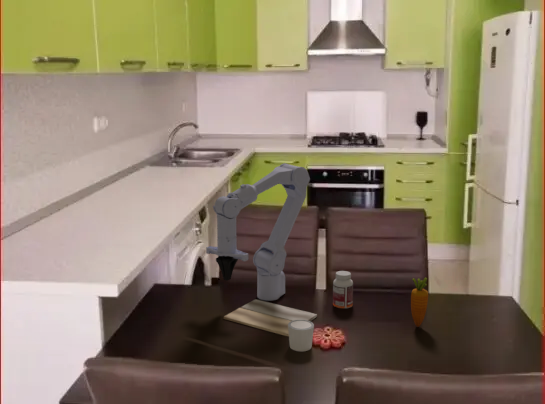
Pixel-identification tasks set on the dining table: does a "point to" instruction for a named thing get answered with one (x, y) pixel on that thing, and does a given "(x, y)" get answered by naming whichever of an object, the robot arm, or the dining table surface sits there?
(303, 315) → the laid plank
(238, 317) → the oak plank
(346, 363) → the dining table surface
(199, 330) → the dining table surface
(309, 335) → the white cup
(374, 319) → the dining table surface
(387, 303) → the dining table surface
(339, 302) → the pill bottle
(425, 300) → the carrot
